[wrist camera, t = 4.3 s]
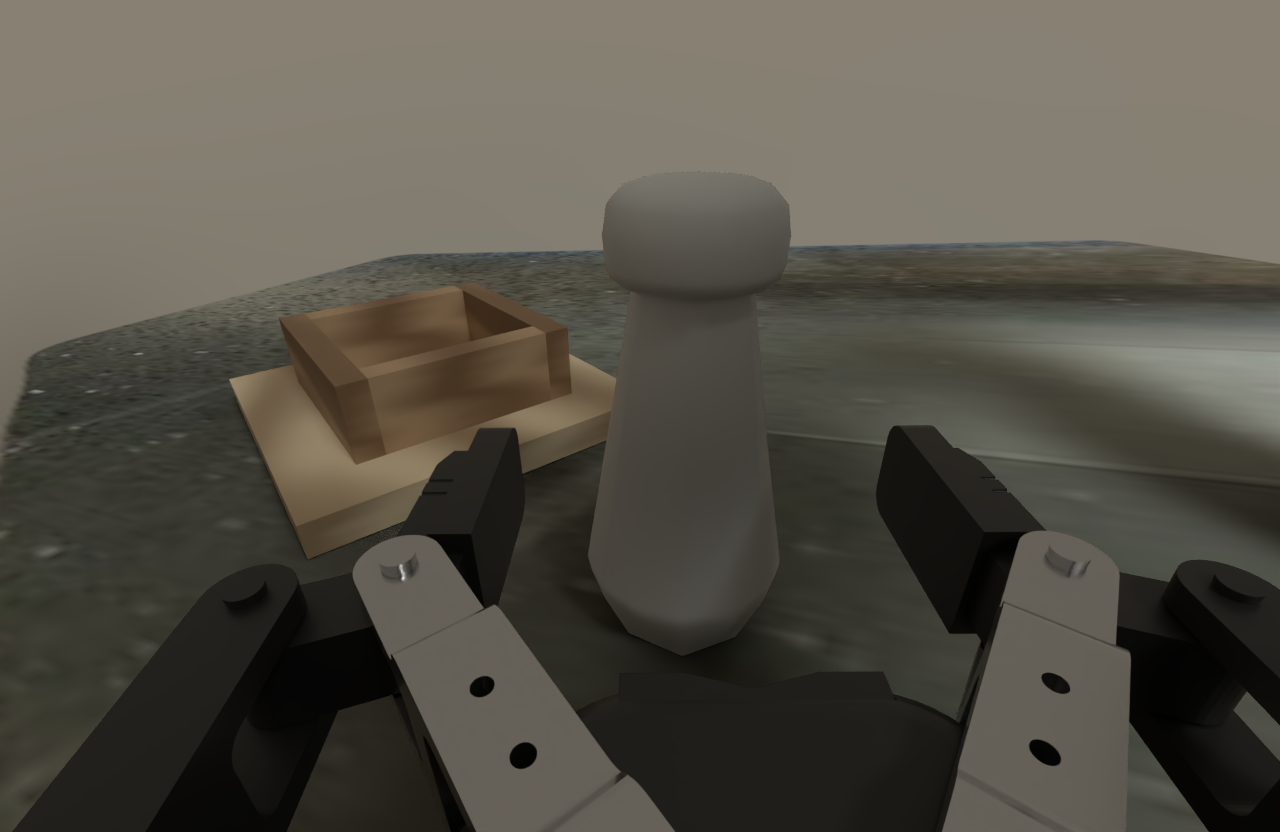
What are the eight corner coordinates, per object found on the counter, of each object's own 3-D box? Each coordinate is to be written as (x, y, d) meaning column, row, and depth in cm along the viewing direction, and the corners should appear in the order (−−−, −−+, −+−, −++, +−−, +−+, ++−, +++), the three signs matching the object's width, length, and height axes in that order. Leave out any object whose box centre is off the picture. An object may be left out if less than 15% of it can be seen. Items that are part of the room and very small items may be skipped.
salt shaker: (554, 608, 19) (510, 177, 13) (666, 523, 23) (673, 159, 17) (701, 718, 16) (734, 202, 9) (804, 597, 19) (876, 172, 13)
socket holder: (503, 337, 41) (494, 266, 39) (650, 423, 30) (650, 329, 28) (238, 404, 32) (206, 316, 30) (307, 559, 21) (265, 439, 19)
